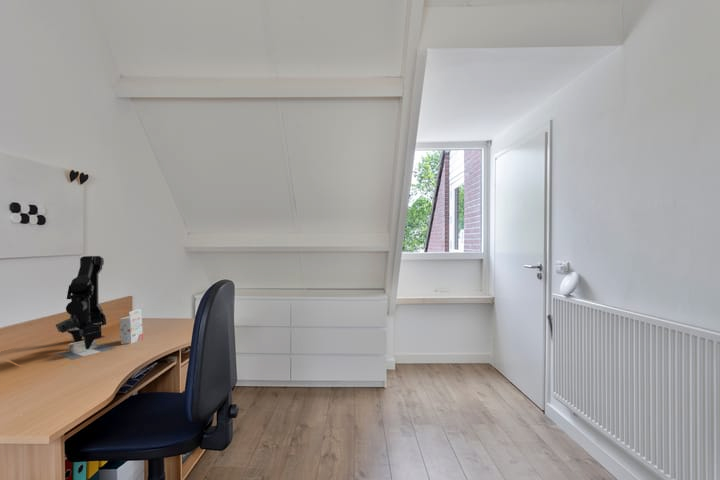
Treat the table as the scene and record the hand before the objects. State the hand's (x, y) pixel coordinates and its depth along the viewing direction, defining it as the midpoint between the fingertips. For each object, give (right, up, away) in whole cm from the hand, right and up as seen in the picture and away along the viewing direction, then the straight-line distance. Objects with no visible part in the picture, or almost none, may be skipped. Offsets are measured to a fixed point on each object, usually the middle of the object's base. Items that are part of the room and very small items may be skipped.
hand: (82, 347), depth 153 cm
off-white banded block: (0, -1, 0) cm, 1 cm away
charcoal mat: (+3, -1, -2) cm, 4 cm away
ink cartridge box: (+14, -1, +12) cm, 18 cm away
